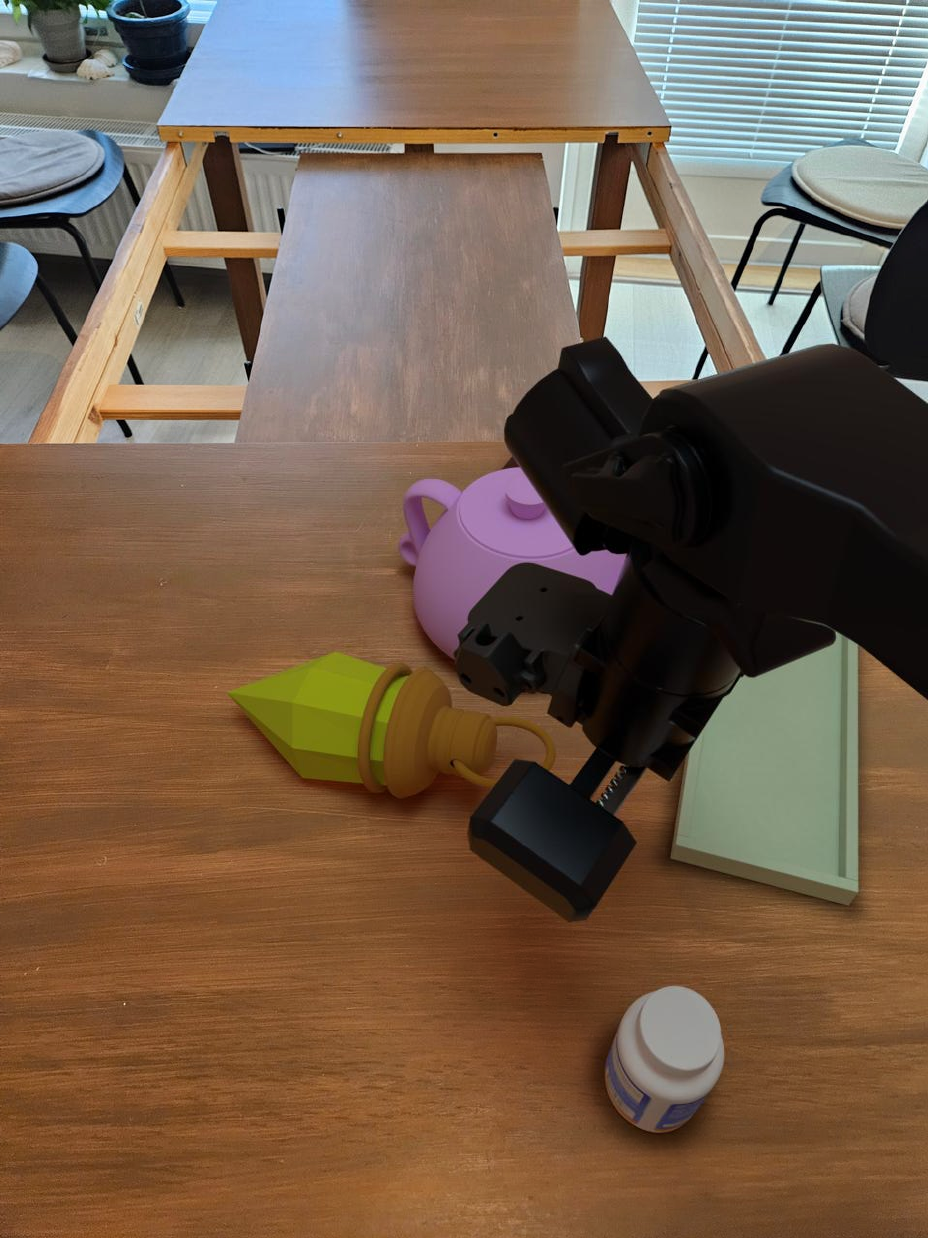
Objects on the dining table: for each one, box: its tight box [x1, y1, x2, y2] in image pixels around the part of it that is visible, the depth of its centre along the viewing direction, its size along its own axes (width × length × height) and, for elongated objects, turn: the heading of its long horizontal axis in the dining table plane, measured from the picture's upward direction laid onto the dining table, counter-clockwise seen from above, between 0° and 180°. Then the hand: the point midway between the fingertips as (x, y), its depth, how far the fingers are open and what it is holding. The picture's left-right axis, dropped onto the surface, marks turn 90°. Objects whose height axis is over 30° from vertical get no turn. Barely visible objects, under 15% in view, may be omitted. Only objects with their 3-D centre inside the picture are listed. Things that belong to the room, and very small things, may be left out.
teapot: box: [397, 467, 626, 661], centre depth 70 cm, size 25×18×14 cm
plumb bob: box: [226, 651, 557, 799], centre depth 62 cm, size 9×9×25 cm
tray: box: [669, 631, 859, 906], centre depth 67 cm, size 28×12×2 cm, turn 163°
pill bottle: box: [604, 985, 725, 1134], centre depth 47 cm, size 5×5×10 cm
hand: (597, 791), depth 48 cm, fingers open, 9 cm apart
